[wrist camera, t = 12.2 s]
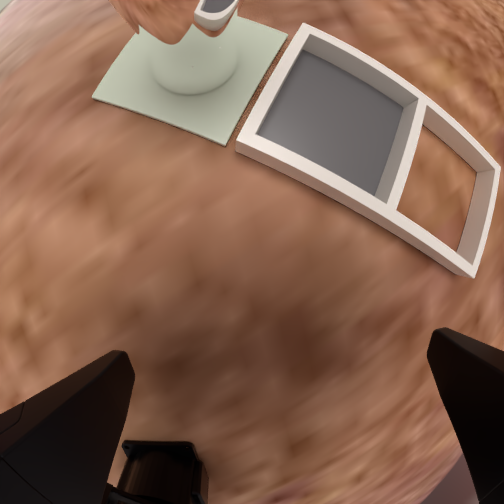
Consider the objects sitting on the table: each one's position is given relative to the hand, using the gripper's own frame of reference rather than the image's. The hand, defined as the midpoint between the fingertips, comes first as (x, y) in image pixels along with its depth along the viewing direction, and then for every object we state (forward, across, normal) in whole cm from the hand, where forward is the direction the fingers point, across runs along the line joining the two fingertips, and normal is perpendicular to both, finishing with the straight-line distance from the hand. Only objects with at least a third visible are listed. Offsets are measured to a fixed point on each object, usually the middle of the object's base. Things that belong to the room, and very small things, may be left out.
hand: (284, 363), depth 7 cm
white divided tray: (+14, -5, -8) cm, 17 cm away
